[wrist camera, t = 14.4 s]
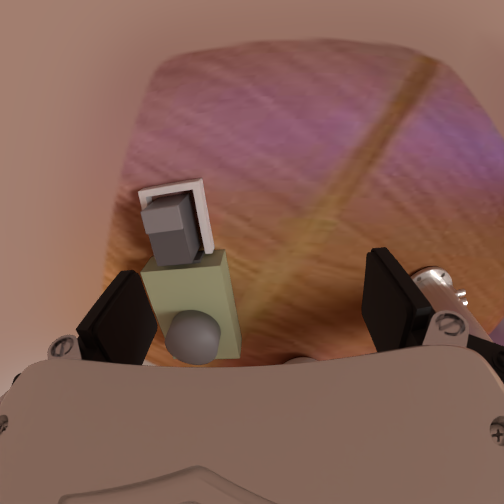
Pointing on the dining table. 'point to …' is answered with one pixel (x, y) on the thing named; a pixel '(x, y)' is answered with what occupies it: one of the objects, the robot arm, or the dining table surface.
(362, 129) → the dining table surface
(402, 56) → the dining table surface
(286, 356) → the dining table surface
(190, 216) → the grey block
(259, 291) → the dining table surface
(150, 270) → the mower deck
